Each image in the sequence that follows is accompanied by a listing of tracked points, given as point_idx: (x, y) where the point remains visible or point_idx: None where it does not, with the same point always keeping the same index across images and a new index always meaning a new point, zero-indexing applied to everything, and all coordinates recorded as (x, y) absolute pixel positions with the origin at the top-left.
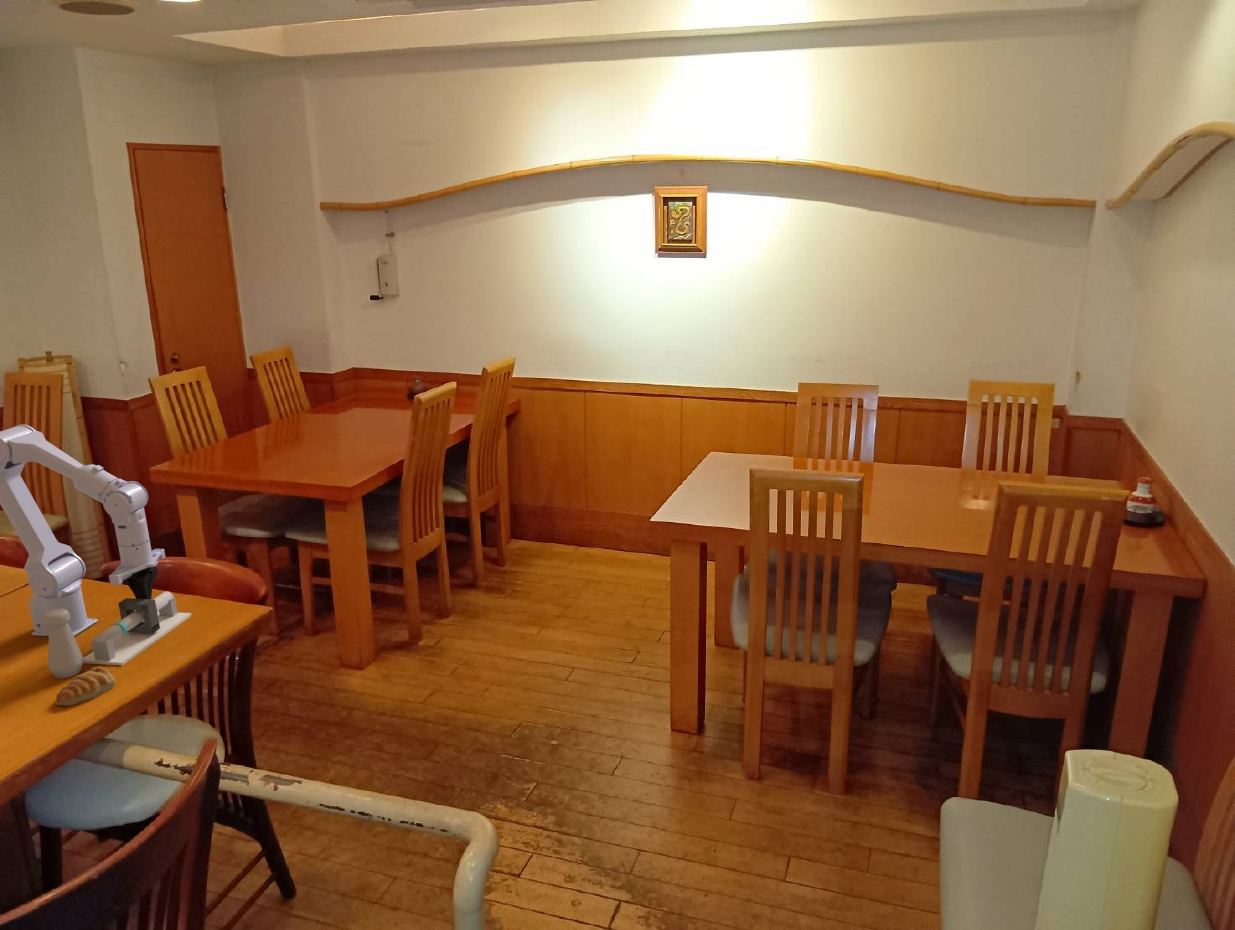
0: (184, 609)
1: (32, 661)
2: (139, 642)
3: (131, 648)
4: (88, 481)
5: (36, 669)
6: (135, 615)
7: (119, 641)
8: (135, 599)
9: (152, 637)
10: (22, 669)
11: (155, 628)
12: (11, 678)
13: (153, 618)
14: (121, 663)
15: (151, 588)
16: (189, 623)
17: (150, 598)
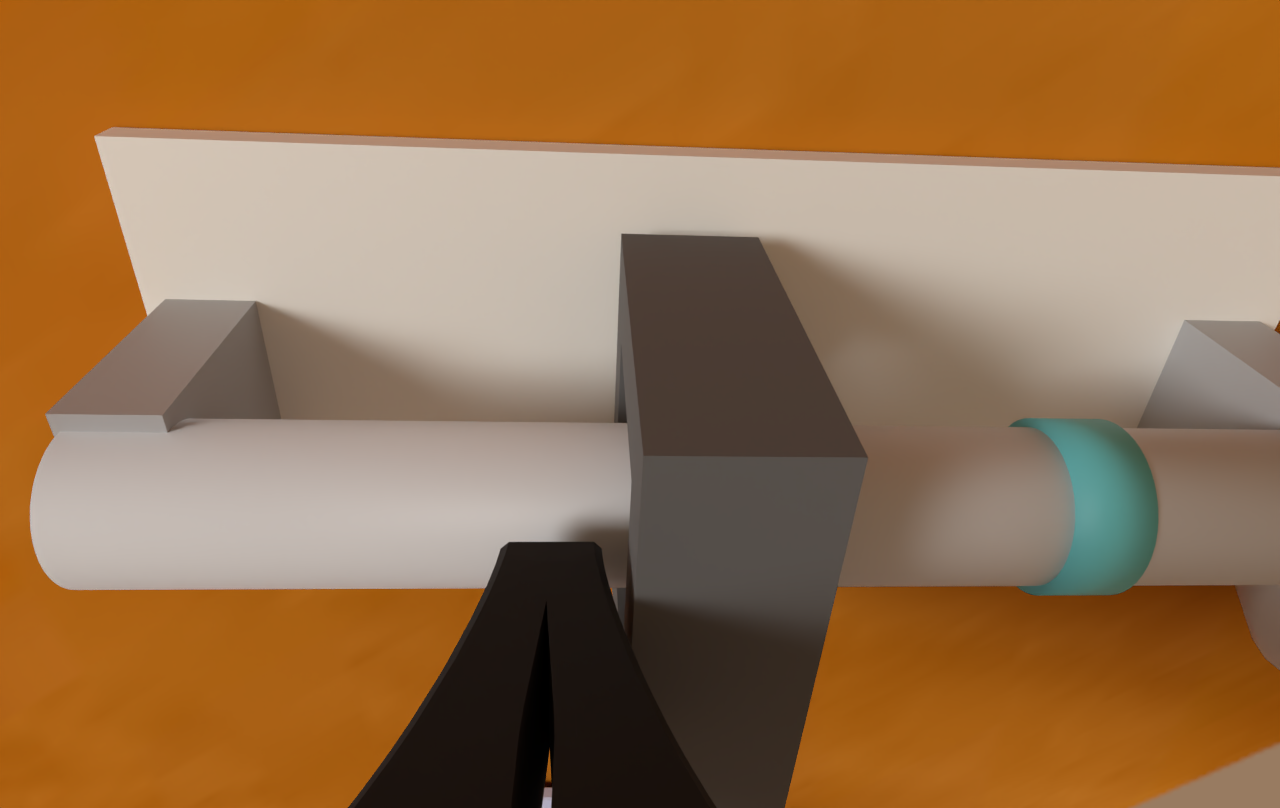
0: (14, 313)
1: (1045, 781)
2: (890, 282)
3: (1025, 278)
4: None
5: (1170, 711)
6: None
7: None
8: None
9: (780, 214)
10: (1146, 768)
11: (700, 250)
12: (1256, 753)
13: (722, 309)
14: None
15: (466, 700)
16: (304, 16)
17: (520, 572)
